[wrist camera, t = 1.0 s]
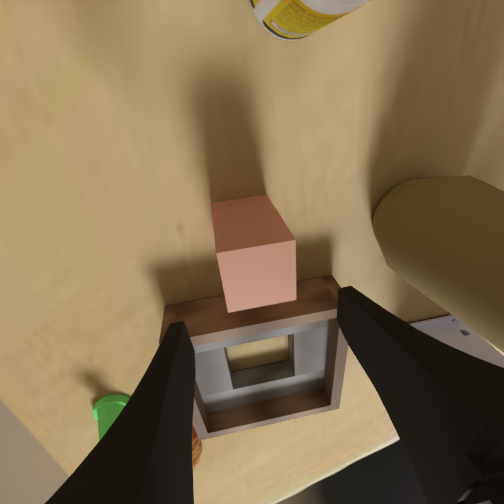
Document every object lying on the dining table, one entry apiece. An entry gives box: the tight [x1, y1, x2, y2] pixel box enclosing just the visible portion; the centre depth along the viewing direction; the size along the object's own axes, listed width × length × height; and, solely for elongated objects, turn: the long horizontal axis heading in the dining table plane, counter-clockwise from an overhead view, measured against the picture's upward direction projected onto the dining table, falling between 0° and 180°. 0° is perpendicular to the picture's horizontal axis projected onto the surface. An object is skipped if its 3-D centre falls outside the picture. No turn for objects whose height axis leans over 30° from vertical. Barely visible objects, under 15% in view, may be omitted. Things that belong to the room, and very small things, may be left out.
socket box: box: [159, 276, 348, 440], centre depth 26 cm, size 15×15×4 cm
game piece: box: [92, 395, 130, 441], centre depth 26 cm, size 4×4×6 cm
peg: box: [211, 194, 296, 313], centre depth 17 cm, size 4×4×7 cm
